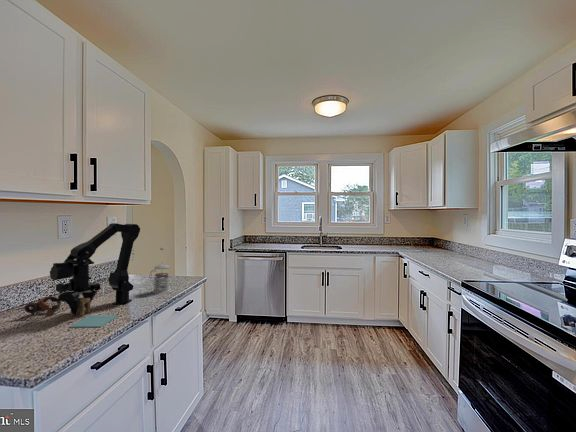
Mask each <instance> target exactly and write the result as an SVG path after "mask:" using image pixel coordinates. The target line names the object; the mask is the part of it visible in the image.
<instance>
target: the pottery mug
mask: <svg viewBox="0 0 576 432" xmlns="http://www.w3.org/2000/svg"><path fill="white" fill-rule="evenodd" d="M49 300H50V301H51V302H56V303H57V304H54V305H52V306H51V307H50V305H49V304H47V302H48V301H49ZM61 304H62V301H58V297H55V296H44V297H41V299H40V300H38V301H37V302H29V303H27V304H25V306H24V307H23V309H24V311H25V312H26V313H28V314H30V315H31V316H34V315H35V314H36V313H37V312H45V311H46V313H45V316H47V317H50V316H51V315H52V314H54V313H56V312H57V311H59V310H60V309H61ZM30 308H31V309H30Z"/></svg>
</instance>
